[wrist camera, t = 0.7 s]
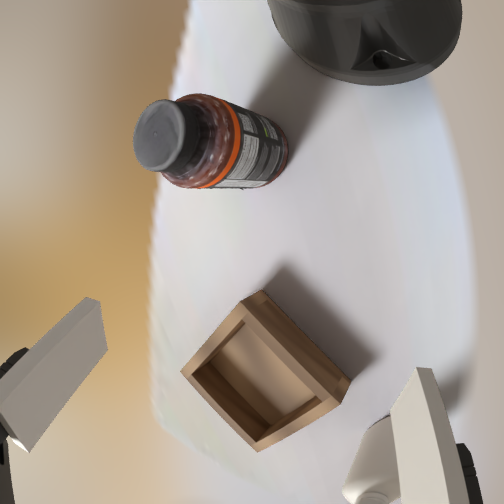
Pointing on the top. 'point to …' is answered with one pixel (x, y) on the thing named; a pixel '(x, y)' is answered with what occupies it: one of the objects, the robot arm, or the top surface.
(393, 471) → the eye dropper bottle
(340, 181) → the top surface
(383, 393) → the top surface
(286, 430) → the holder
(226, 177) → the supplement bottle
